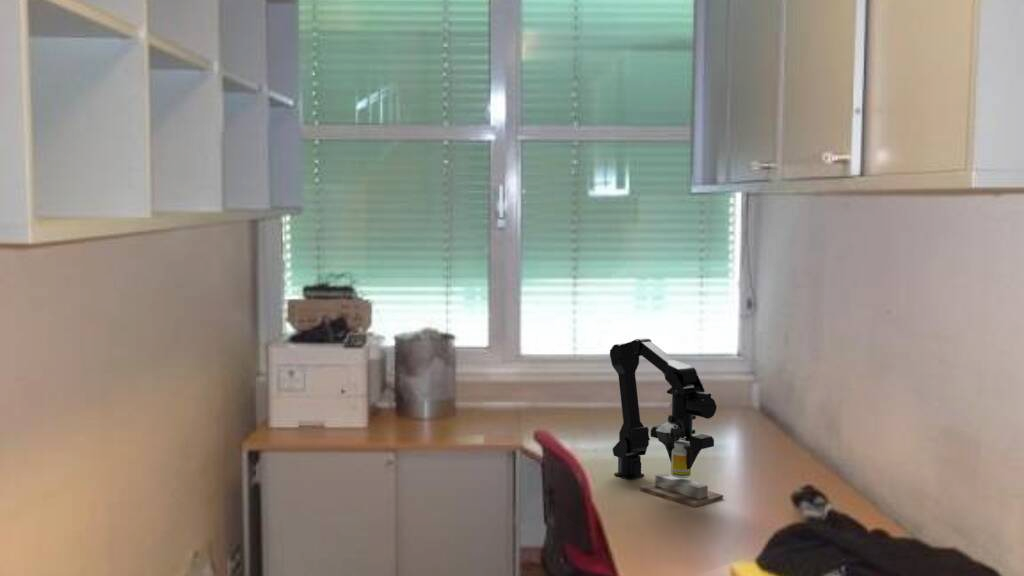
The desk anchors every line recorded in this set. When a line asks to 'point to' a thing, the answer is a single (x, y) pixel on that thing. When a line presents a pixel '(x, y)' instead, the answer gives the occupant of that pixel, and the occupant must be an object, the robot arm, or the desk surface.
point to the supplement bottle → (679, 460)
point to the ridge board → (680, 496)
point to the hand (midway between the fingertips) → (681, 466)
